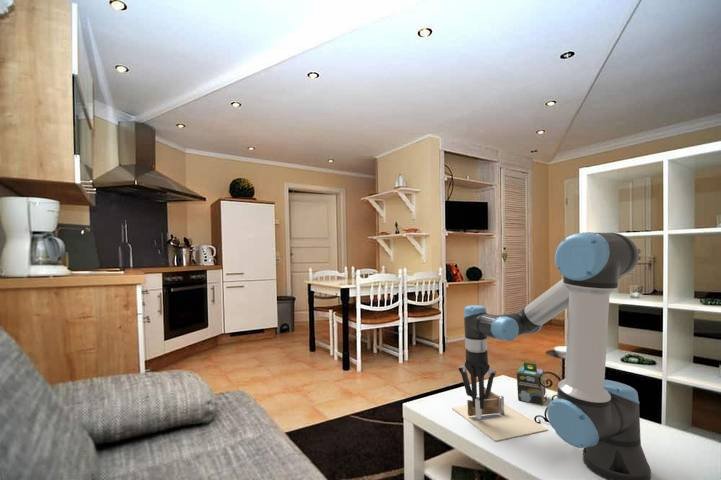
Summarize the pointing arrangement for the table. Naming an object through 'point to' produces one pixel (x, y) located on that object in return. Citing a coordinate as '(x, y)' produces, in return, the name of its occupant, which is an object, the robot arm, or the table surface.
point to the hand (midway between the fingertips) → (478, 417)
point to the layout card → (502, 423)
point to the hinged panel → (485, 407)
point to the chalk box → (530, 384)
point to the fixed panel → (492, 395)
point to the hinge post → (501, 405)
